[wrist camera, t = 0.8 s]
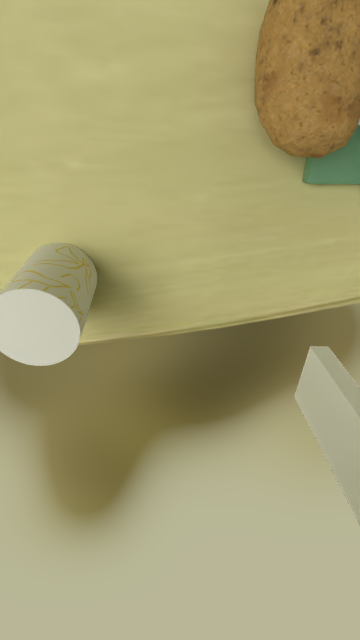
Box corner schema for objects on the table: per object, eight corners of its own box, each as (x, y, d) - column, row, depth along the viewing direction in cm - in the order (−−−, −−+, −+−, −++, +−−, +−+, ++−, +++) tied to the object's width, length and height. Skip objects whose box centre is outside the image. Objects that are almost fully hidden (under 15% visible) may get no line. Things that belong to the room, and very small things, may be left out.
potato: (350, -44, 29) (412, -94, 22) (342, 142, 36) (387, 148, 29) (234, -16, 29) (260, -56, 22) (250, 163, 36) (272, 174, 29)
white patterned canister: (109, 267, 41) (96, 318, 31) (77, 316, 44) (55, 378, 34) (45, 228, 38) (6, 271, 28) (15, 284, 41) (-29, 341, 31)
